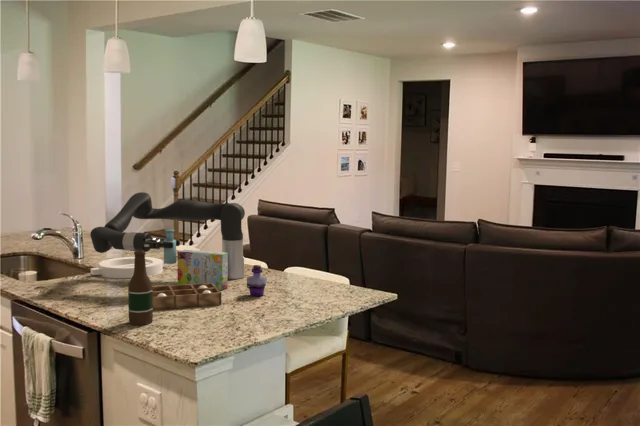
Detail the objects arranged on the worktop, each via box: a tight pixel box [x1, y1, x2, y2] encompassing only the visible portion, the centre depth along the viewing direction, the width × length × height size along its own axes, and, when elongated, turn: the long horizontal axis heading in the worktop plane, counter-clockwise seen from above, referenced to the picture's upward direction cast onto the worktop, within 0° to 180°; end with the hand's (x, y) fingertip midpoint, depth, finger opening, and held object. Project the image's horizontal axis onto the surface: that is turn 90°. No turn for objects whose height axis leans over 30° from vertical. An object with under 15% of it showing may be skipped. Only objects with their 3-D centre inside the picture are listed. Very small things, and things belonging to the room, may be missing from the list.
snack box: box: [177, 249, 229, 291], centre depth 248 cm, size 21×6×15 cm, turn 71°
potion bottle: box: [246, 264, 268, 298], centre depth 236 cm, size 9×9×12 cm
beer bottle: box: [127, 250, 154, 327], centre depth 196 cm, size 8×8×24 cm
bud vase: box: [163, 228, 177, 265], centre depth 236 cm, size 5×5×13 cm
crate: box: [152, 283, 222, 311], centre depth 225 cm, size 25×17×5 cm
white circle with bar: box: [90, 256, 170, 279], centre depth 277 cm, size 28×28×5 cm
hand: (176, 244), depth 235 cm, fingers closed on bud vase, 4 cm apart
